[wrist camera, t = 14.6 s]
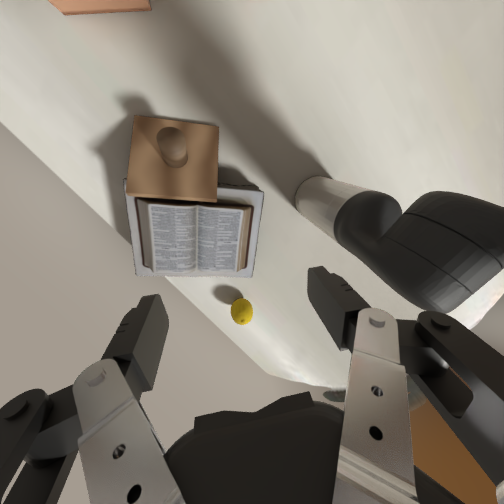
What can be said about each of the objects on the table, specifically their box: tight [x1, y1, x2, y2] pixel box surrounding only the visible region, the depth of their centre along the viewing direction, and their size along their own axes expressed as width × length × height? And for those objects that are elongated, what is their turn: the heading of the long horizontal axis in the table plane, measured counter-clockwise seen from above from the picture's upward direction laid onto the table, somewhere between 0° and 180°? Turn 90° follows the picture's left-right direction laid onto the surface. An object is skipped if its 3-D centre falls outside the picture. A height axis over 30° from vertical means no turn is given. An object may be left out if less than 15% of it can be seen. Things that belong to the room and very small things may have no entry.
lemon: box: [231, 298, 253, 325], centre depth 54 cm, size 6×6×8 cm
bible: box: [123, 178, 264, 278], centre depth 42 cm, size 23×27×10 cm
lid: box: [125, 115, 219, 202], centre depth 34 cm, size 14×14×6 cm
